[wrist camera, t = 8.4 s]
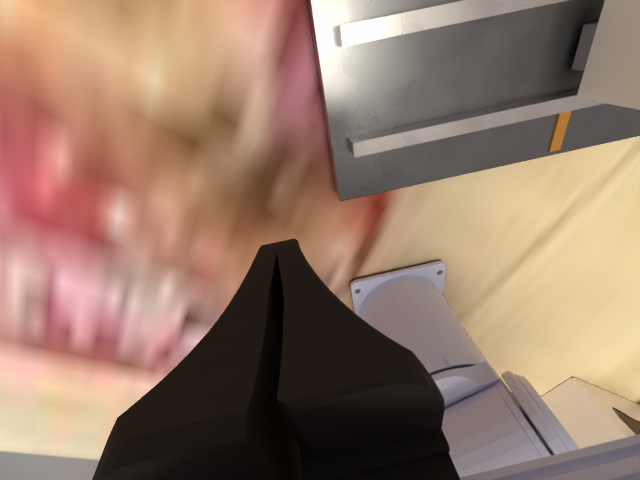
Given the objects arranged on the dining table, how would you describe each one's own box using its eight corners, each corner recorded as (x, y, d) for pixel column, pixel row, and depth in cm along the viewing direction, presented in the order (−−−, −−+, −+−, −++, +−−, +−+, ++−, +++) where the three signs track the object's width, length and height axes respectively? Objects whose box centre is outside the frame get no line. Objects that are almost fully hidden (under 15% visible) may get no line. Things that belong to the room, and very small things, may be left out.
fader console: (673, 117, 21) (717, 126, 19) (335, 191, 20) (343, 208, 18) (800, -149, 14) (890, -180, 12) (299, -49, 14) (304, -65, 12)
